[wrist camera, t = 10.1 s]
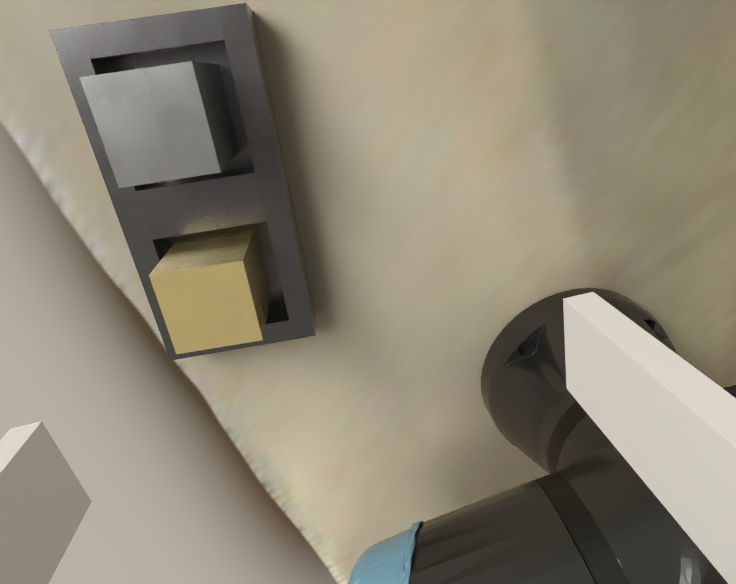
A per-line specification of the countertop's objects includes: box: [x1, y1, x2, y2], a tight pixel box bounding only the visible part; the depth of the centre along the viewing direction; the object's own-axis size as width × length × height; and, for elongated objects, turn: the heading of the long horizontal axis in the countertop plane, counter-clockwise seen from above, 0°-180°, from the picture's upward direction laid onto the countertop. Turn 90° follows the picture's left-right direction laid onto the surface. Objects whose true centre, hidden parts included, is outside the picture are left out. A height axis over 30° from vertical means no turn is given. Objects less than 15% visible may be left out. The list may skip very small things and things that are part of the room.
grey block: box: [79, 61, 240, 188], centre depth 26 cm, size 5×5×7 cm
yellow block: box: [149, 224, 271, 354], centre depth 30 cm, size 5×5×7 cm
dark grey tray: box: [49, 3, 315, 360], centre depth 30 cm, size 20×10×3 cm, turn 8°
